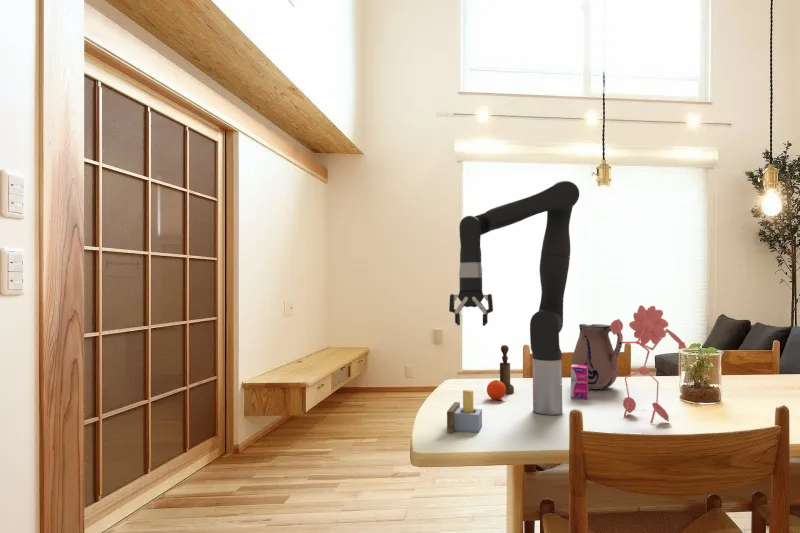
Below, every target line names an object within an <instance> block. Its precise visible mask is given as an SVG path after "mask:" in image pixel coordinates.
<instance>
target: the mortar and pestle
mask: <svg viewBox="0 0 800 533" xmlns="http://www.w3.org/2000/svg"><path fill="white" fill-rule="evenodd" d="M509 350H510V349H509V346H508V345H506V344H502V345H501V347H500V351H501V353H502V357H501V359H502V362H500V363H499V381H501V382H502V383H503V384H504V385H505V387H506V394H505V395H507V394H509V395H510V394H514V393H515V387H514V386H513V384H512V383H511V363H510V362H508V360H509V357H508V352H509Z"/></svg>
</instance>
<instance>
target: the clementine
mask: <svg viewBox="0 0 800 533" xmlns="http://www.w3.org/2000/svg"><path fill="white" fill-rule="evenodd" d="M486 393H487V395H488V397H489V398H490V399H492V400H494V401H499V400H502V399H503V398H504V397H505V396H506V395H507V394H506V387H505V385H504V384H503V383H502V382H501V381H500V380H499V379H495V380H491V381H489V383H488V384H487V386H486Z"/></svg>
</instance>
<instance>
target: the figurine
mask: <svg viewBox="0 0 800 533" xmlns="http://www.w3.org/2000/svg"><path fill="white" fill-rule="evenodd" d="M663 315H664V310H662V309H656V306H655V305H651V306H649V307H648V308H647V309H646V307H645V306H644V305H642V304H640V305H639V306H638V308H637V312H633V321H630V322H629V323H628V326H629V328H630V329H632V330H633V331H634V333H633V337H634V338H635V339H637V340H636V341H622V336H623V335H622V336H621V333H622V330H623V329H624V324H623V322H622V321H621V320H620V318H617V319H614V320H613V321H612V322H611V323H610V324H609V325H610V329H611V333H612V334H613V335H617V333H619V335H620V342H621V343H622V344H636V345H639V346H640V347H642V348H643V349H644V350H646V351H647V353H646V356H645V361H644V365H643V366H640V367H639V368H638V371H637V372H634V373H632V374H630V375H627V376H625V377H624V383H625V386H626V392H627V397H625V398H624V400H623V401H622V402H623V403H622V405H623V408H624V413H623V418H626V416H627V414H628V413H629V414H631V413H632V412H634V411H635V410H636V408H637V407H636V406H637V403H636V401H635V399H634V398H632V397H631V396H630V393H629V388H628V382H627V378H629V377H632V376H635V375H637V374H640V375H642V376H647V375H649V376H650V377H651V378H652V379H653V380H654V381H655V382H656V384H657V385H656V400H655V401H656V402H655V401H654V402H652V404H651V405H652V408H653V411H652V416H651V419H650V424H651V423H652V424H653V423H654V419H655V414H656V413H655V412H657V414H658V416H660V417H661V418H662V419H664V420H665V421H667V422H670V418H669V417H670V416H669V414H668V412H667V410H665V409H664V408H663V406H661V405H660V404H659V400H658V399H659V383H660V382H659V381H658V380H657V379H656V378H655V377H654V376H653V375H652V374H651V373H650V372H649V368H648V367H647V366H646V365H647V362H648V359H649V355H650V352H651V351H654V350H655V348H656V347H657V346H658V344H659V343H660V341H662V339H663V338H665V337H666V336H667V333H668V335H669V336H670V337H671V338H672V339H673V340H674V341H675V342H676V343H677V344H679V345H680V346H682V347H683V348H685V349H686V348H687V345H685V342H684V341H682V339H681V338H680V337H678V335H677V334H675V332H673V331H671V330H669V329H668V327H669V325H670V324H669V322H668V321H667V320H666V319H664V318H663ZM649 342H652V343H651V344H653V346H652V347H650V346H648V345H646V344H648V343H649ZM650 350H651V351H650ZM667 428H668V429H669V428H671V426H668V427H667Z"/></svg>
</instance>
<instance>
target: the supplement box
mask: <svg viewBox="0 0 800 533" xmlns="http://www.w3.org/2000/svg"><path fill="white" fill-rule="evenodd" d="M570 398H571V399H577V398H580V399H579V400H588V398H589V389H588V366H586V365H572V366H571V365H570Z"/></svg>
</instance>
